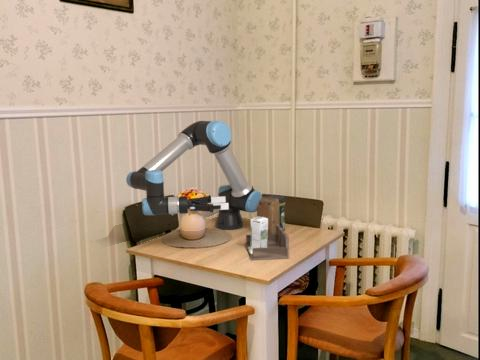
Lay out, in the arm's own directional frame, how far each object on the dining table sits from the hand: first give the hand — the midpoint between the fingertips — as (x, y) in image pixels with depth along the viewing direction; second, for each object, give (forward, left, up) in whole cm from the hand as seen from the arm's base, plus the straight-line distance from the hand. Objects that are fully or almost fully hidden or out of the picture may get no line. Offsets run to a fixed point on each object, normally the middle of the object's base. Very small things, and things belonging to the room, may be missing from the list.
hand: (227, 202), depth 198 cm
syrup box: (+2, +14, -22) cm, 26 cm away
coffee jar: (-35, +29, -23) cm, 51 cm away
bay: (+2, +17, -23) cm, 28 cm away
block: (-21, +22, -23) cm, 38 cm away
